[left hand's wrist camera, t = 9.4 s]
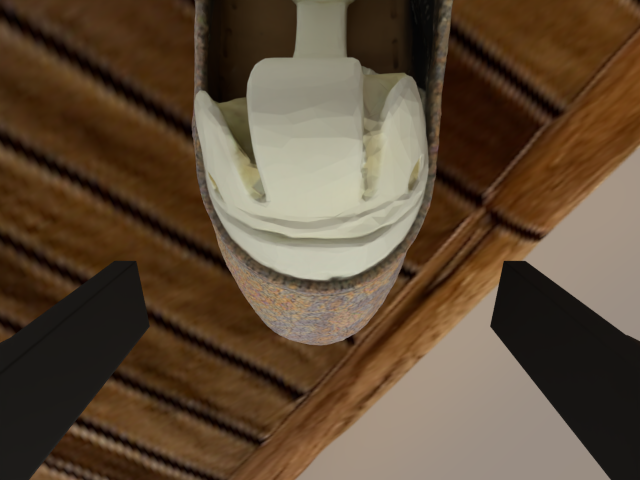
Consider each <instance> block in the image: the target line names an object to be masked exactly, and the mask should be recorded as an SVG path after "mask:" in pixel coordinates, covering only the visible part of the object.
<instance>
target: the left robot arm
mask: <svg viewBox="0 0 640 480" xmlns="http://www.w3.org/2000/svg"><path fill="white" fill-rule="evenodd" d="M149 327H150V325H149V321H148V316H147V311H146V306H145V301H144V296H143V292H142V287H141V282H140V277H139V272H138V268H137V263H136V261H114V262H113V263H111V264H110V265H109V266H107V267H106V268H104V269H103V270H102V271H100V272H99V273H98V274H96V275H95V276H94V277H92V278H91V279H90V280H88V281H87V282H85V283H84V284H83V285H81V286H80V287H79V288H77V289H76V290H75V291H73V292H72V293H71V294H69V295H68V296H66V297H65V298H64V299H62V300H61V301H60V302H58V303H57V304H56V305H54V306H53V307H51V308H50V309H49V310H47V311H46V312H45V313H43V314H42V315H41V316H39V317H38V318H37V319H35V320H34V321H32V322H31V323H30V324H28V325H27V326H26V327H24V328H23V329H22V330H20V331H19V332H18V333H16V334H15V335H13V336H12V337H11V338H9V339H7V340H5V341H3V342H1V343H0V480H29V479H30V478H31V477H32V475H33V474H34V473H35V472H36V470H37V469H38V468H39V466H40V465H41V464H42V463H43V461H44V460H45V459H46V458H47V456H48V455H49V454H50V452H51V451H52V450H53V449H54V447H55V446H56V445H57V444H58V442H59V441H60V440H61V439H62V437H63V436H64V435H65V433H66V432H67V431H68V430H69V428H70V427H71V426H72V425H73V423H74V422H75V421H76V419H77V418H78V417H79V416H80V414H81V413H82V412H83V411H84V409H85V408H86V407H87V405H88V404H89V403H90V402H91V400H92V399H93V398H94V397H95V395H96V394H97V393H98V391H99V390H100V389H101V388H102V386H103V385H104V384H105V383H106V381H107V380H108V379H109V377H110V376H111V375H112V374H113V372H114V371H115V370H116V369H117V367H118V366H119V365H120V363H121V362H122V361H123V360H124V358H125V357H126V356H127V355H128V353H129V352H130V351H131V350H132V348H133V347H134V346H135V344H136V343H137V342H138V341H139V339H140V338H141V337H142V336H143V334H144V333H145V332H146V330H147V329H148V328H149ZM490 327H491V328H492V329H493V330H494V332H495V333H496V334H497V336H498V337H499V338H500V339H501V341H502V342H503V343H504V344H505V346H506V347H507V348H508V350H509V351H510V352H511V353H512V355H513V356H514V357H515V358H516V360H517V361H518V362H519V363H520V365H521V366H522V367H523V369H524V370H525V371H526V372H527V374H528V375H529V376H530V377H531V379H532V380H533V381H534V383H535V384H536V385H537V386H538V388H539V389H540V390H541V391H542V393H543V394H544V395H545V397H546V398H547V399H548V400H549V402H550V403H551V404H552V405H553V407H554V408H555V409H556V411H557V412H558V413H559V414H560V416H561V417H562V418H563V419H564V421H565V422H566V423H567V425H568V426H569V427H570V428H571V430H572V431H573V432H574V433H575V435H576V436H577V437H578V439H579V440H580V441H581V442H582V444H583V445H584V446H585V447H586V449H587V450H588V451H589V453H590V454H591V455H592V456H593V458H594V459H595V460H596V461H597V463H598V464H599V465H600V466H601V468H602V469H603V470H604V472H605V473H606V474H607V475H608V477H609V478H610V479H611V480H640V341H638V340H636V339H634V338H632V337H630V336H628V335H625V334H624V333H622V332H621V331H620V330H618V329H617V328H616V327H614V326H613V325H612V324H610V323H609V322H608V321H606V320H605V319H603V318H602V317H601V316H599V315H598V314H597V313H595V312H594V311H593V310H591V309H590V308H589V307H587V306H586V305H584V304H583V303H582V302H580V301H579V300H578V299H576V298H575V297H573V296H572V295H571V294H569V293H568V292H567V291H565V290H564V289H563V288H561V287H560V286H559V285H557V284H556V283H554V282H553V281H552V280H550V279H549V278H548V277H546V276H545V275H544V274H542V273H541V272H540V271H538V270H537V269H536V268H534V267H533V266H531V265H530V264H529V263H527V262H526V261H504V263H503V268H502V272H501V277H500V282H499V287H498V292H497V296H496V301H495V306H494V311H493V316H492V321H491V325H490Z"/></svg>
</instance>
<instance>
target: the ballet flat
mask: <svg viewBox="0 0 640 480" xmlns="http://www.w3.org/2000/svg"><path fill="white" fill-rule="evenodd" d="M452 3H453V0H195V7H196V16H195V32H194V38H195V77H194V82H195V92H194V111H193V120H192V131H193V133H192V136H193V139H194V147H195V154H196V168H197V177H198V182H199V187H200V191H201V195H202V199H203V202H204V205H205V208H206V210H207V212H208V214H209V216H210V219H211V221H212V223H213V227H214V229H215V233H216V236H217V240H218V245H219V247H220V250H221V253H222V255H223V257H224V259H225V262H226V264H227V266H228V268H229V270H230V271H231V273H232V275H233V277H234V278H235V280H236V282H237V284H238V286H239V288H240V290H241V291H242V293H243V294H244V296H245V297H246V299H247V300H248V302H249V303H250V304H251V306H252V307H253V309H254V310H255V312H256V313H257V314H258V315H259V316H260V317H261V319H262V320H263V321H264V323H265V324H266V325H267V326H268V327H270V328H271V329H272V330H273V331H274V332H276V333H278V334H279V335H281V336H283V337H285V338H288V339H290V340H293V341H297V342H301V343H305V344H310V345H327V344H331V343H335V342H338V341H342V340H344V339H345V338H348V337H349V336H351V335H353V334H355V333H357V332H358V331H359V330H361V328H363V327H364V326H365V325H366V324H367V323H368V322H369V320H370V319H371V318H372V317H373V315H374V314H375V313H376V312H377V310H378V308H379V307H380V306H381V305H382V304H383V302H384V300H385V299H386V296H387V294H388V293H389V291H390V290H391V288H392V286H393V285H394V283H395V281H396V279H397V276H398V274H399V272H400V269H401V267H402V264H403V261H404V258H405V255H406V252H407V250H408V248H409V247H410V246H411V244H412V243H413V241H414V240H415V239H416V237H417V235H418V233H419V230H420V228H421V226H422V224H423V222H424V219H425V216H426V214H427V211H428V209H429V207H430V203H431V198H432V194H433V187H434V180H435V177H436V160H437V154H438V145H439V130H440V118H441V95H442V88H443V79H444V71H445V65H446V56H447V52H448V38H449V31H450V22H451V9H452Z"/></svg>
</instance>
